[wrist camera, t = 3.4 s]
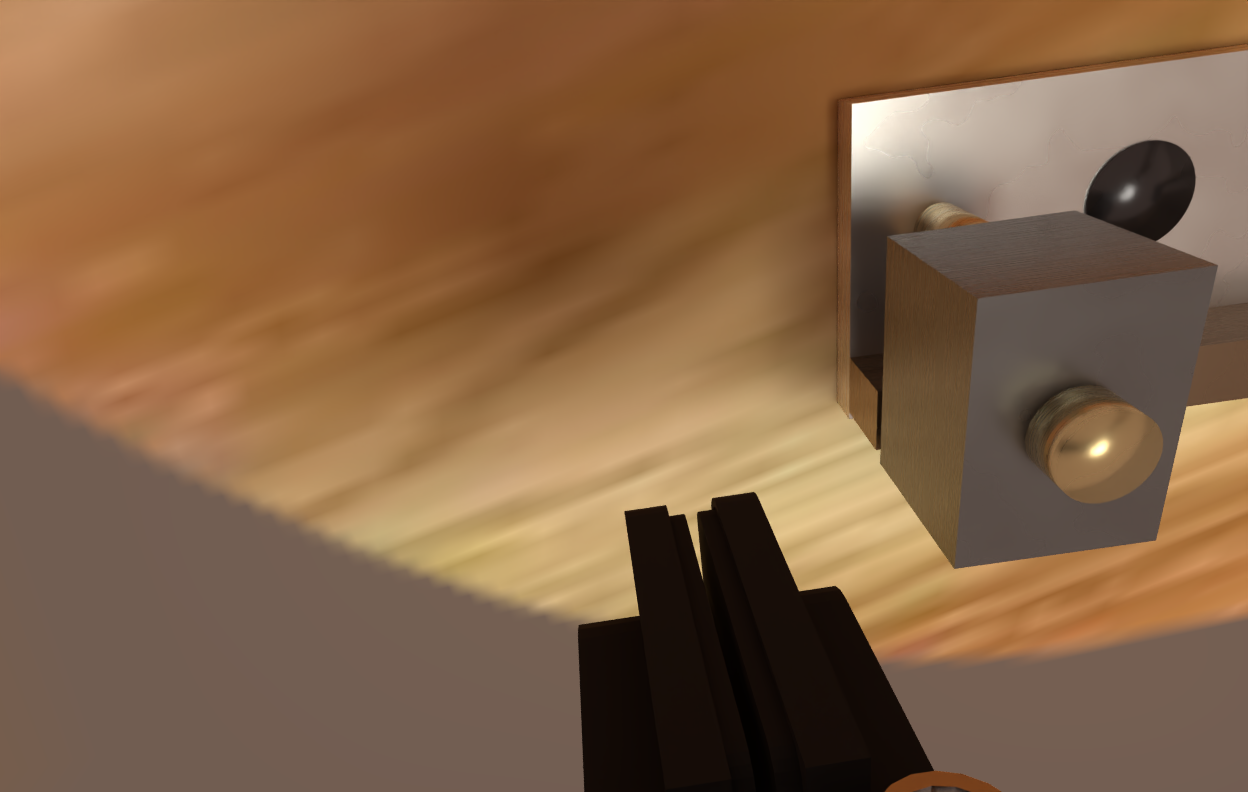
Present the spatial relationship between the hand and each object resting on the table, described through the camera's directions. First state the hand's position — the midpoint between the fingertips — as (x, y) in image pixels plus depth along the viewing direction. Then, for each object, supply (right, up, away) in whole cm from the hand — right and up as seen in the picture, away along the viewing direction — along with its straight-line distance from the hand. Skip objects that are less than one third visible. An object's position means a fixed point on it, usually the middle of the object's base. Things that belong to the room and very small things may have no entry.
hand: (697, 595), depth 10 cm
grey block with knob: (+7, +5, +9) cm, 12 cm away
